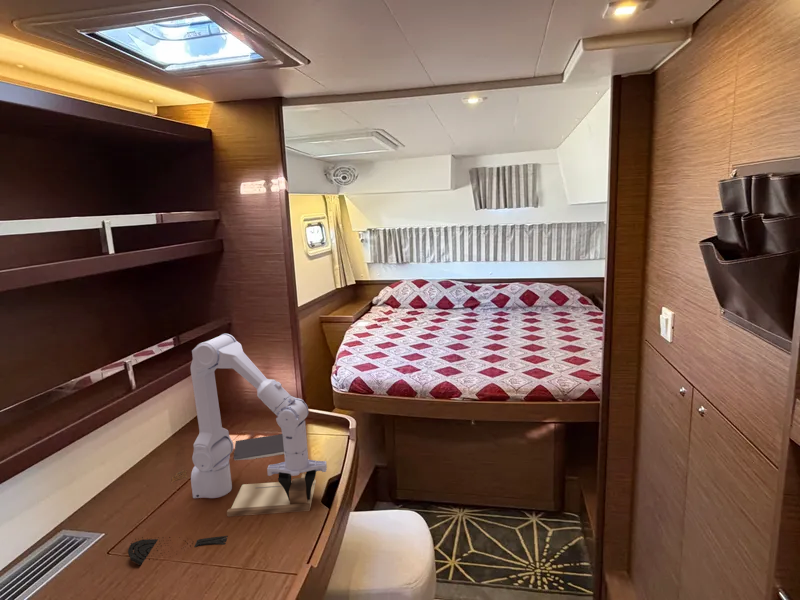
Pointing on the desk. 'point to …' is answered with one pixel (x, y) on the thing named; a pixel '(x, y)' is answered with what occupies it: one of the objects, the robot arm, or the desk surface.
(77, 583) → the desk surface
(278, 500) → the plywood board
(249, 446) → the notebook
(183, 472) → the hand saw
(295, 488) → the marking gauge
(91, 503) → the desk surface
